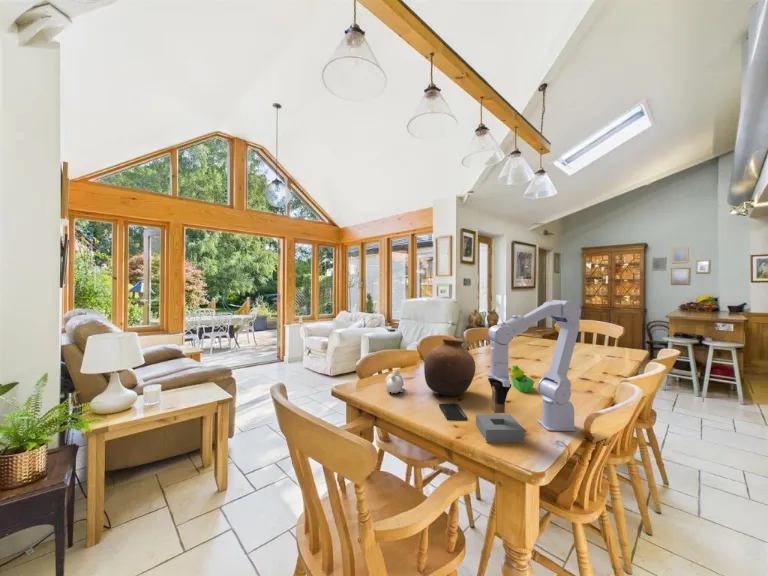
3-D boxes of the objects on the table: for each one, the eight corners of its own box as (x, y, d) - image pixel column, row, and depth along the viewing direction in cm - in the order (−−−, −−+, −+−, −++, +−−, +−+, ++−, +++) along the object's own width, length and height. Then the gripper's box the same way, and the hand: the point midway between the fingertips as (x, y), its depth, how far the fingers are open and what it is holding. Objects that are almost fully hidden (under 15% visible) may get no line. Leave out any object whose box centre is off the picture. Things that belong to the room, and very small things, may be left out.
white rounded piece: (396, 375, 144) (395, 363, 159) (381, 384, 144) (381, 371, 159) (407, 393, 145) (405, 379, 160) (392, 402, 145) (391, 387, 160)
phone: (457, 403, 134) (467, 418, 119) (457, 406, 134) (467, 421, 119) (438, 403, 133) (446, 418, 118) (438, 406, 133) (446, 421, 118)
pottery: (421, 400, 139) (421, 342, 139) (427, 384, 162) (427, 334, 162) (476, 404, 134) (476, 344, 134) (474, 387, 156) (474, 335, 156)
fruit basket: (535, 392, 148) (535, 368, 148) (516, 392, 149) (516, 368, 149) (525, 385, 160) (525, 362, 160) (507, 385, 160) (507, 362, 160)
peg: (501, 409, 111) (501, 385, 111) (504, 413, 108) (504, 388, 108) (492, 409, 111) (492, 385, 111) (495, 412, 108) (495, 388, 108)
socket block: (510, 425, 114) (510, 414, 114) (524, 442, 102) (524, 429, 102) (475, 425, 114) (475, 414, 114) (486, 442, 102) (486, 429, 102)
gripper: (481, 356, 117) (481, 394, 117) (494, 366, 102) (493, 409, 102) (501, 356, 116) (501, 394, 117) (516, 366, 102) (516, 410, 102)
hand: (499, 401), depth 109 cm, fingers closed on peg, 3 cm apart
